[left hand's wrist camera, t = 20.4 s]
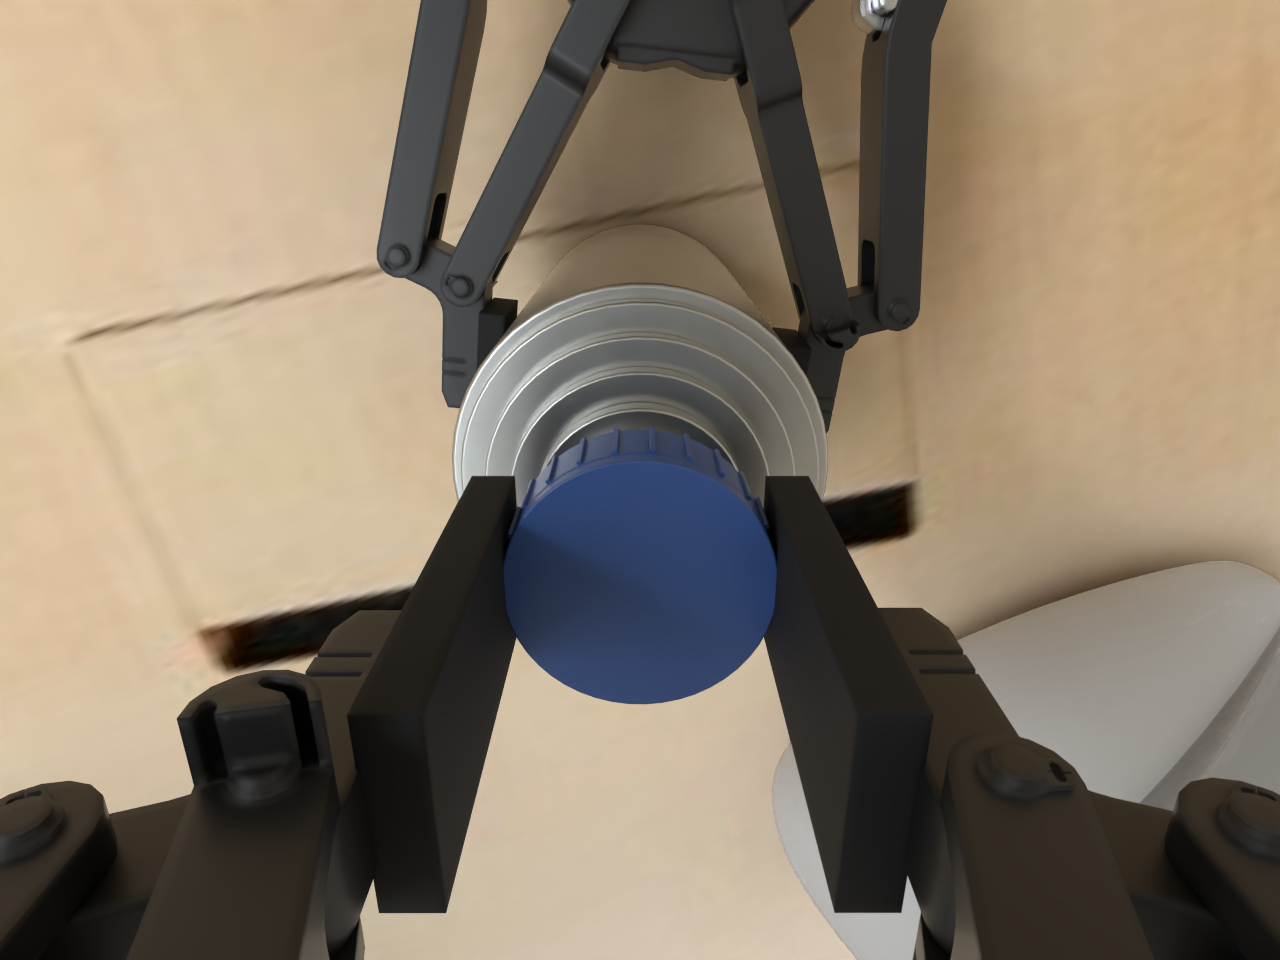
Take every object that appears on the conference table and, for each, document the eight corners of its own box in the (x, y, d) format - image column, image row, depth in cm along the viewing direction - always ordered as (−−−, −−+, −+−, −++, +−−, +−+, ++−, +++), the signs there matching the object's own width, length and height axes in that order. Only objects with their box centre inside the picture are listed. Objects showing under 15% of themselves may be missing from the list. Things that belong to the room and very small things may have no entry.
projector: (1152, 927, 43) (1387, 1281, 30) (727, 891, 42) (768, 1240, 29) (1329, 558, 35) (1765, 813, 21) (806, 503, 34) (916, 734, 21)
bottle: (645, 474, 34) (650, 837, 16) (490, 340, 32) (294, 583, 14) (790, 329, 32) (989, 560, 14) (634, 174, 29) (625, 206, 12)
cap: (499, 430, 14) (483, 464, 12) (769, 419, 14) (785, 452, 12) (525, 658, 15) (513, 712, 14) (765, 649, 15) (778, 702, 14)
